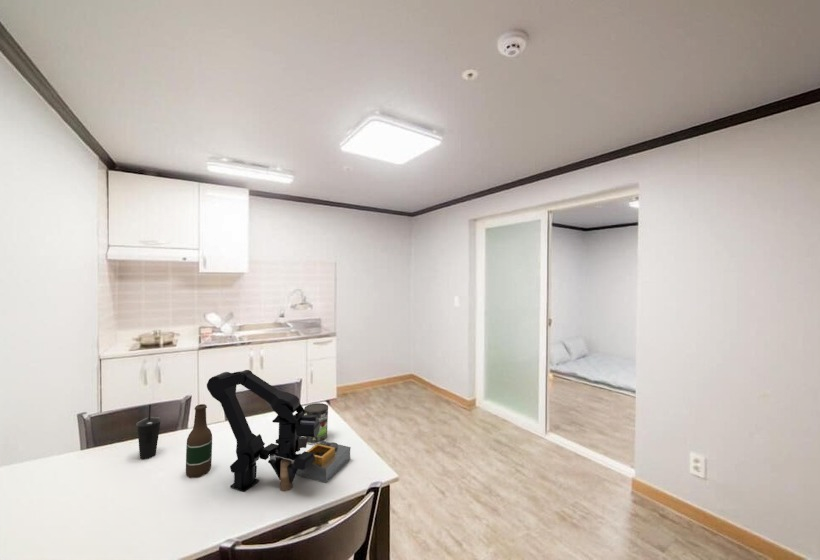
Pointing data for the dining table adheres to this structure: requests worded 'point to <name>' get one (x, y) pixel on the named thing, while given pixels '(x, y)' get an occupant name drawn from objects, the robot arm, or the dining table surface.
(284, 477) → the wooden plug
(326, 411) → the coffee can
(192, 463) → the beer bottle
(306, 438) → the robot arm
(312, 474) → the grey block with socket
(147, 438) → the drinking cup
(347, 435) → the dining table surface
